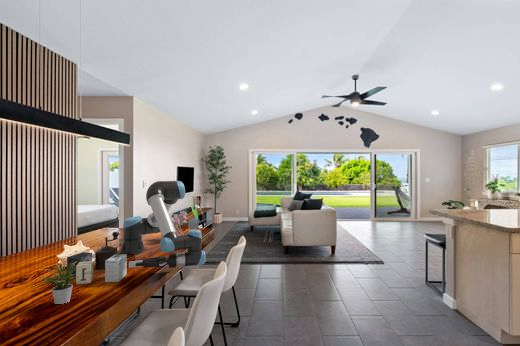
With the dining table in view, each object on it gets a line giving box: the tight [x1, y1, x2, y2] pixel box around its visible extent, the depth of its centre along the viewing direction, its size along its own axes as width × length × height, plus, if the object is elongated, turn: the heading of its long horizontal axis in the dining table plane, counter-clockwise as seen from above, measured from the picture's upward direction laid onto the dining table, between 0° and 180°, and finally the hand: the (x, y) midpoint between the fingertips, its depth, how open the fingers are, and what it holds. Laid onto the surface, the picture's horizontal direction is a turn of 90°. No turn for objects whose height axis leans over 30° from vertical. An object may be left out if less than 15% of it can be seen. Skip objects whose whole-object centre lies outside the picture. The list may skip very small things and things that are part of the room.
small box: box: [66, 251, 93, 279], centre depth 150 cm, size 11×6×10 cm, turn 168°
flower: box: [161, 208, 188, 239], centre depth 232 cm, size 20×22×25 cm
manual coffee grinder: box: [94, 231, 120, 270], centre depth 167 cm, size 16×11×18 cm
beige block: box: [75, 260, 94, 285], centre depth 141 cm, size 6×6×9 cm
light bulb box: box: [104, 253, 128, 283], centre depth 145 cm, size 11×7×11 cm, turn 5°
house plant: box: [39, 261, 78, 305], centre depth 119 cm, size 14×14×16 cm
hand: (128, 264), depth 147 cm, fingers closed
